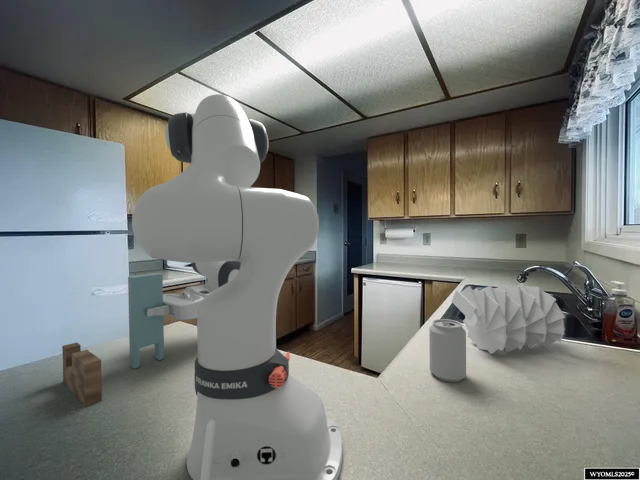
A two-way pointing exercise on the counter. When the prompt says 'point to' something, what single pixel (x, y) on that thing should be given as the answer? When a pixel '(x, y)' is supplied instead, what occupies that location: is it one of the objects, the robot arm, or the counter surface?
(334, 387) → the counter surface
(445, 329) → the can
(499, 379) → the counter surface
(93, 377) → the notched walnut block
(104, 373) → the counter surface
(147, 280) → the teal plate
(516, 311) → the spiral staircase
